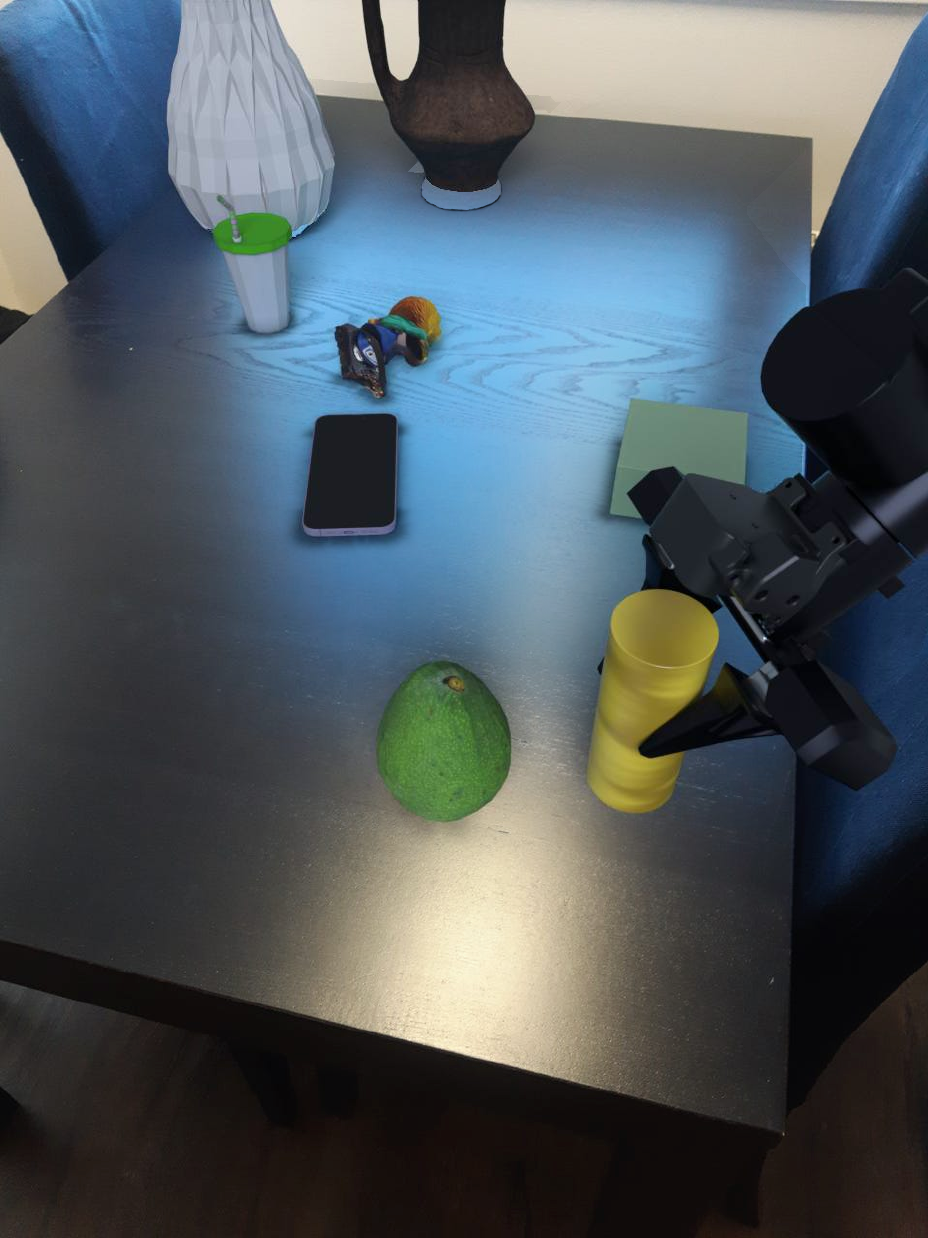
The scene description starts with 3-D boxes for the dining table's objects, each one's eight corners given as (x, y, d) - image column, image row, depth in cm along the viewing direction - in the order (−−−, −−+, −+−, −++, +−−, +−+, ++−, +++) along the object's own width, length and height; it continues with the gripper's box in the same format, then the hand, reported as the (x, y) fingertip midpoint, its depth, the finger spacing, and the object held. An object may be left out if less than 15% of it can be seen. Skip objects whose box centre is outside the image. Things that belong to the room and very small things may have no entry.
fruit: (426, 874, 52) (417, 758, 43) (359, 779, 56) (339, 656, 48) (533, 807, 55) (544, 686, 46) (461, 722, 59) (460, 597, 51)
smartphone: (299, 530, 71) (314, 414, 82) (301, 541, 72) (316, 425, 83) (396, 527, 72) (398, 412, 82) (397, 538, 72) (399, 423, 83)
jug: (530, 168, 126) (543, -101, 104) (532, 223, 113) (546, -70, 91) (383, 167, 127) (365, -100, 105) (368, 221, 114) (344, -69, 92)
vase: (210, 193, 120) (152, -85, 98) (355, 198, 119) (329, -83, 97) (162, 260, 107) (82, -46, 85) (325, 266, 105) (287, -43, 83)
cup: (283, 298, 100) (260, 158, 89) (318, 326, 96) (298, 182, 85) (220, 319, 97) (188, 176, 86) (253, 349, 93) (223, 202, 82)
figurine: (422, 334, 94) (418, 278, 90) (465, 364, 90) (464, 307, 86) (331, 371, 90) (323, 314, 85) (373, 404, 86) (366, 345, 81)
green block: (735, 460, 79) (748, 412, 75) (731, 532, 72) (745, 484, 69) (623, 444, 81) (631, 397, 77) (609, 513, 74) (616, 465, 70)
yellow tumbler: (668, 739, 54) (709, 588, 44) (681, 814, 50) (728, 668, 41) (582, 738, 54) (605, 588, 44) (589, 813, 50) (615, 667, 41)
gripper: (691, 322, 42) (469, 540, 48) (938, 589, 30) (598, 837, 36) (795, 432, 49) (591, 610, 55) (1029, 684, 37) (733, 877, 43)
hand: (621, 712), depth 47 cm, fingers closed on yellow tumbler, 5 cm apart
